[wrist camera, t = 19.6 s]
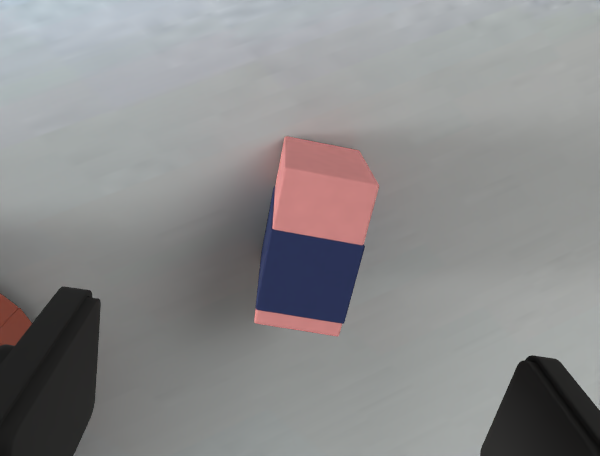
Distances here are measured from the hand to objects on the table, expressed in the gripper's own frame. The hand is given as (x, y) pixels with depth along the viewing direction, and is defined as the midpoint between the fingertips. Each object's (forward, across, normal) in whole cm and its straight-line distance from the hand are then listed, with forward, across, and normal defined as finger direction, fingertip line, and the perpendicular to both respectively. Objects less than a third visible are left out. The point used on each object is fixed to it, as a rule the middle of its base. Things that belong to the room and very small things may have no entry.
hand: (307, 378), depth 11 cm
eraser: (+12, -1, 0) cm, 12 cm away
